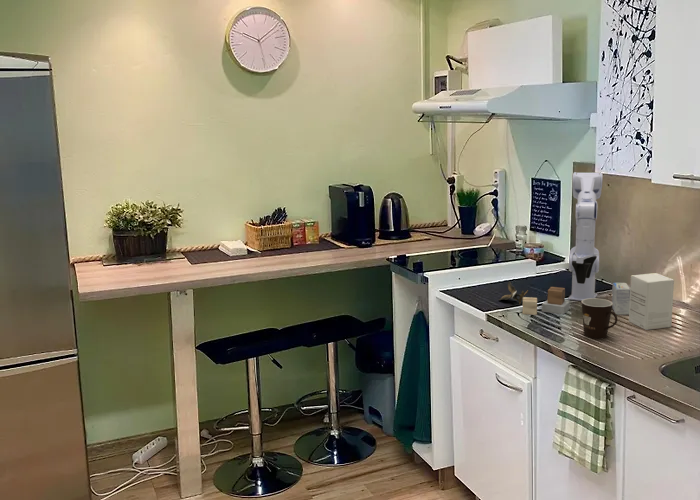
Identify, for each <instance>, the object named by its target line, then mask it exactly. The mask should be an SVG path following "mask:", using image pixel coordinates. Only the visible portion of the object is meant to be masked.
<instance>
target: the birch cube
mask: <svg viewBox="0 0 700 500" xmlns="http://www.w3.org/2000/svg"><path fill="white" fill-rule="evenodd" d="M522 315H534V316H537V315H538V297H526V296H524V297H523V298H522Z"/></svg>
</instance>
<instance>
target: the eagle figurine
mask: <svg viewBox="0 0 700 500" xmlns="http://www.w3.org/2000/svg"><path fill="white" fill-rule="evenodd" d="M506 287H507V288H508V291H509V292H510V294H505V295H503V296H501V298H499V299H498V301H501V300H505V301H506V300H510V299H513V300H514V301H516V300H517V301H518V304H519V305H521V304H522V301H523V297H526V295H527V294H528V293H529V290H528V289H527V290H526V291H525V292H524V290H522V291H521V293H517V290H516V288H515V286H514V285H513V284H512V282H511V281H508V282H507V286H506ZM517 301H516V302H517Z"/></svg>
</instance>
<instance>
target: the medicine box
mask: <svg viewBox="0 0 700 500" xmlns="http://www.w3.org/2000/svg"><path fill="white" fill-rule="evenodd" d="M611 290H612V291H611V292H612V293H611V302H612V303H613V305H612V310H613V312H614V313H615V314H616V315H619V316H622V315H623V316H625V315H626V316H629V305H630V286H629V285H628V283H626V282H613V283H612V289H611Z"/></svg>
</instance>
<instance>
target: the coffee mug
mask: <svg viewBox="0 0 700 500" xmlns="http://www.w3.org/2000/svg"><path fill="white" fill-rule="evenodd" d="M580 303H581V312H582V313H581V315H582V325H583V327H582V328H583V335H584V336H585V337H587V338H589V339H593V340H597V339H598V340H600V339H606V338H607V336H608V331H609V329H611V328H613V327H615V326H616V324H617V323H618V316H617V314H615V312H614V311H612V310H613V308H612V305H613V303H612V300H608V299H605V298H597V297H596V298H589V299H584V300H582V301H580ZM611 315H612V316H613V317H614V322H613V324H611V325H610V321H611V317H612V316H611Z"/></svg>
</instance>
